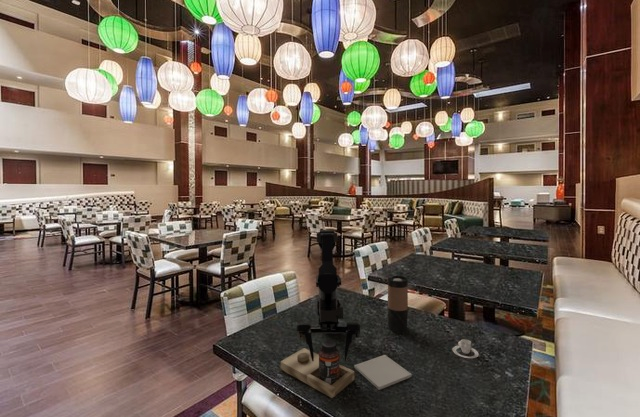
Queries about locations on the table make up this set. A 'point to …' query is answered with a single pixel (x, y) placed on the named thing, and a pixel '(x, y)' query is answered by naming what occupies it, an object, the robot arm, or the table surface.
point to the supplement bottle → (329, 362)
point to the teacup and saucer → (465, 348)
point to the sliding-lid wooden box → (315, 372)
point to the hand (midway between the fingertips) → (329, 360)
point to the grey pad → (382, 371)
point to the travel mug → (397, 303)
